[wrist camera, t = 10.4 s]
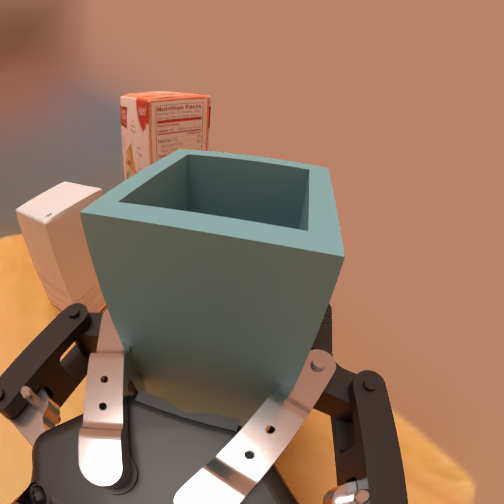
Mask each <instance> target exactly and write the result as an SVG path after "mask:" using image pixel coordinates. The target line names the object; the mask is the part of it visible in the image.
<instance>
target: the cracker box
mask: <svg viewBox="0 0 504 504" xmlns="http://www.w3.org/2000/svg"><path fill="white" fill-rule="evenodd" d="M120 103H121V104H120V107H121V132H122V146H123V160H124V161H123V162H124V171H125V180H127V179H129V178H130V177H132V176H133V175H135V174H137V173H138V172H140V171H141V170H143V169H145V168H146V167H148V166H150V165H152V164H153V163H155V162H157V161H158V160H160V159H162V158H164V157H165V156H167V155H169V154H171V153H173V152H174V151H176V150H178V149H187V150H201V151H208V150H209V126H210V109H211V107H210V106H211V97H210V96H207V95H199V94H189V93H179V92H169V91H154V92H142V93H141V92H140V93H132V94H126V95H123V96H121V97H120Z"/></svg>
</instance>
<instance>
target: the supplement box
mask: <svg viewBox="0 0 504 504" xmlns="http://www.w3.org/2000/svg"><path fill="white" fill-rule="evenodd" d="M101 196H103V192H102V189H100V188H95V187H90V186H85V185H80V184H75V183H70V182H66V181H65V182H63V183H60V184H58V185H57V186H55V187H53V188H51V189H49V190H47V191H46V192H44V193H42V194H40V195H38V196H37V197H35V198H33V199H32V200H30V201H28V202H27V203H25V204H24V205H22V206H20V207H19V208H17V209H16V213H17V217H18V221H19V224H20V227H21V230H22V234H23V237H24V240H25V243H26V245H27V248H28V251H29V253H30V256H31V259H32V261H33V264H34V266H35V269H36V271H37V273H38V276H39V278H40V280H41V282H42V285H43V287H44V289H45V291H46V294H47V296H48V298H49V300H50V302H51V303H52V304H53V305H55V306H56V307H57V308H58V309H60V310H61V311H63V310H64V309H65V308H66V307H68V306H69V305H71V304H74V303H81V304H84V305H85V306H86V307H87V310H88V312H93V313H99V312H100V311H101V310H102V309H103V308H104V307H105V306H106V302H105V300H104V297H103V294H102V291H101V288H100V285H99V282H98V279H97V276H96V273H95V269H94V266H93V263H92V259H91V256H90V252H89V248H88V245H87V241H86V237H85V233H84V229H83V225H82V220H81V216H80V211H82V210H83V209H84V208H86V207H87V206H89V205H90V204H91V203H93V202H94V201H96V200H97V199H98V198H100V197H101Z"/></svg>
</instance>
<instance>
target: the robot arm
mask: <svg viewBox="0 0 504 504" xmlns="http://www.w3.org/2000/svg"><path fill="white" fill-rule="evenodd" d="M331 317H332V311H331V306H330V304H328V307H327V310H326V312H325V315H324V317H323V320H322V323H321V325H320V328H319V330H318V333H317V335H316V338H315V340H314V343H313V345H312V348H311V350H310V352H309V355H308V357H307V359H306V362H305V364H304V366H303V369H302V371H301V373H300V375H299V378H298V380H297V382H296V384H295V386H287V385H281V386H280V387H279V389H278V390H277V391H274V392H273V393H272V394H271V395H270V396H269V397H268V398H267V400H266V401H265V402H264V403H263V404H262V406H261V407H260V408H259V409H258V410H257V412H256V413H255V414H254V415H253V416H252V417H251V419H250V420H249V421H248V422H247V423H246V424H245V426H244V427H242V426H239V419H235V418H230V417H226V416H222V415H218V414H214V413H191V412H184V411H182V410H180V409H179V408H177V407H175V406H174V405H172V404H171V403H169V402H167V401H166V400H164V399H163V398H160V397H157V396H155V395H152V394H149V393H146V389H145V379H144V377H143V375H142V374H141V373H138V372H136V370H135V368H134V365H133V360H132V350H131V348H130V345H128V344H125V343H123V342H121V340H120V338H119V336H118V333H117V331H116V328H115V326H114V324H113V321H112V318H111V316H110V313H109V311H108V309H106V310H105V312H104V313H93V312H88V310H87V307H86V306H85V305H84V304H81V303H74V304H71V305H69V306H68V307H66V308H65V309H64V310H63V311H62V312H61V313H60V314H59V315H58V316H57V317H56V318H55V319H54V320H53V321H52V322H51V323H50V324H49V325H48V326H47V327H46V328H45V329H44V330H43V331H42V332H41V333H40V334H39V335H38V336H37V337H36V338H35V339H34V340H33V341H32V342H31V343H30V344H29V345H28V346H27V347H26V349H25V350H24V351H23V352H22V353H21V354H20V355H19V356H18V357H17V358H16V359H15V361H14V362H13V363H12V364H11V365H10V366H9V367H8V368H7V370H6V371H5V372H4V373H3V374H2V375H1V377H0V413H1V414H2V415H3V416H4V417H5V418H6V419H8V420H9V421H10V422H12V423H13V424H14V425H15V426H16V428H17V429H18V430H19V431H20V433H21V434H22V435H23V436H24V437H25V438H26V440H27V441H28V442H29V443H30V444H31V445H32V446H33V449H32V462H33V470H32V479H31V483H30V485H29V487H28V488H27V489H26V490H25V491H24V492H23V493H22V494H21V495H20V496H19V497H18V498H17V499H16V500H14V501H13V502H12V503H11V504H299V503H298V501H297V500H296V498H295V497H294V495H293V494H292V492H291V490H290V489H289V487H288V486H287V484H286V483H285V481H284V479H283V478H282V476H281V474H280V473H279V471H278V469H277V468H276V466H275V464H274V462H275V461H276V459H277V458H278V457H279V455H280V454H281V453H282V451H283V450H284V449H285V447H286V446H287V445H288V443H289V442H290V441H291V439H292V438H293V437H294V435H295V434H296V432H297V431H298V429H299V428H300V427H301V425H302V424H303V422H304V421H305V419H306V418H307V416H308V415H309V413H310V411H311V410H312V408H314V409H316V410H318V411H321V412H323V413H325V414H328V415H330V416H331V423H332V432H333V442H334V452H335V463H336V475H337V487H334V488H332V489H331V490H329V491H328V492H327V493H326V495H325V496H324V499H323V503H322V504H408V499H407V491H406V483H405V476H404V470H403V464H402V458H401V452H400V447H399V442H398V437H397V432H396V427H395V422H394V418H393V414H392V409H391V405H390V401H389V397H388V393H387V389H386V385H385V382H384V380H383V378H382V377H381V376H380V375H379V374H377V373H376V372H373V371H369V370H365V371H361V372H359V373H358V374H355V373H352V372H350V371H348V370H345V369H343V368H342V367H340V366H339V365H338V364H337V363H336V362H335V360H334V358H333V355H332V326H331V325H332V318H331ZM73 342H75V344H76V345H75V346H74V347H73V348H72V349H71V350H70V351H69V352H68V354H67V355H66V356H65V357H64V358H63V359H62V360H61V361H60V358H61V356H62V355H63V353H64V352H65V351H66V350H67V349H68V348H69V347H70V346H71V345H72V344H73ZM86 375H87V379H86V389H85V400H84V414H82V415H80V416H78V417H75V418H73V419H71V420H69V421H67V422H65V423H62V424H60V425H58V426H56V427H55V424H59V423H60V420H61V418H60V416H59V415H60V410H59V409H60V407H61V406H62V405H63V403H64V402H65V401H66V400H67V398H68V397H69V396H70V395H71V393H72V392H73V391H74V390H75V388H76V387H77V386H78V385H79V384H80V382H81V381H82V380H83V379H84V377H85V376H86Z"/></svg>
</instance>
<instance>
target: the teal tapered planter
mask: <svg viewBox="0 0 504 504" xmlns="http://www.w3.org/2000/svg"><path fill="white" fill-rule="evenodd" d="M80 216H81V220H82V225H83V229H84V233H85V237H86V241H87V245H88V248H89V252H90V256H91V259H92V263H93V266H94V269H95V273H96V276H97V279H98V282H99V285H100V288H101V291H102V294H103V297H104V300H105V302H106V305H107V308H108V311H109V313H110V316H111V318H112V321H113V324H114V326H115V328H116V331H117V333H118V336H119V338H120V340H121V342H123V343H125V344H128V345H130V348H131V350H132V360H133V365H134V368H135V370H136V372H138V373H141V374H142V375H143V377H144V379H145V389H146V393H149V394H152V395H155V396H157V397H160V398H163V399H164V400H166V401H167V402H169V403H171V404H172V405H174V406H175V407H177V408H179V409H180V410H182V411H184V412H191V413H214V414H218V415H222V416H226V417H230V418H235V419H239V426H242V427H244V426H245V424H246V423H247V422H248V421H249V420H250V419H251V417H252V416H253V415H254V414H255V413H256V412H257V410H258V409H259V408H260V407H261V406H262V404H263V403H264V402H265V401H266V400H267V398H268V397H269V396H270V395H271V394H272V393H273V392H274V391H277V390H278V389H279V387H280V386H281V385H287V386H295V384H296V382H297V380H298V378H299V375H300V373H301V371H302V369H303V366H304V364H305V362H306V359H307V357H308V355H309V352H310V350H311V348H312V345H313V343H314V340H315V338H316V335H317V333H318V330H319V328H320V325H321V323H322V320H323V317H324V315H325V312H326V310H327V307H328V304H329V301H330V299H331V296H332V293H333V290H334V287H335V285H336V282H337V279H338V276H339V273H340V270H341V266H342V264H343V261H344V258H345V255H344V249H343V242H342V236H341V230H340V225H339V219H338V214H337V208H336V203H335V198H334V193H333V188H332V184H331V179H330V175H329V171H328V168H326V167H321V166H315V165H310V164H304V163H298V162H292V161H286V160H279V159H273V158H266V157H258V156H250V155H242V154H233V153H224V152H213V151H201V150H187V149H178V150H176V151H174V152H173V153H171V154H169V155H167V156H165V157H164V158H162V159H160V160H158V161H157V162H155V163H153V164H152V165H150V166H148V167H146V168H145V169H143V170H141V171H140V172H138V173H137V174H135V175H133V176H132V177H130V178H129V179H127V180H125V181H124V182H122V183H121V184H119V185H118V186H116V187H115V188H113V189H112V190H110V191H109V192H107V193H106V194H104V195H103V196H101V197H100V198H98V199H97V200H96V201H94V202H93V203H91V204H90V205H89V206H87V207H86V208H84V209H83V210H82V211H80Z"/></svg>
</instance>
